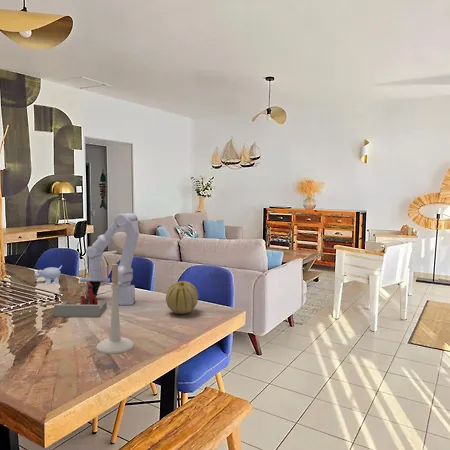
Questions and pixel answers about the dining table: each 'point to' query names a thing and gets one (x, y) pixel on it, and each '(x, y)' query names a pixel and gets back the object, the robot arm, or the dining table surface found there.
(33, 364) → the dining table surface
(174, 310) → the cantaloupe
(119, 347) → the candlestick
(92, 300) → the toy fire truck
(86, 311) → the tray
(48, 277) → the hippopotamus toy
